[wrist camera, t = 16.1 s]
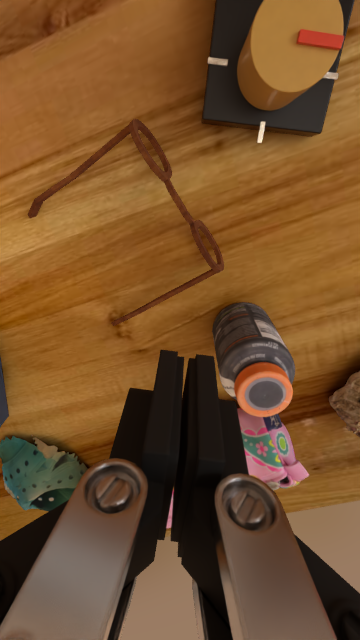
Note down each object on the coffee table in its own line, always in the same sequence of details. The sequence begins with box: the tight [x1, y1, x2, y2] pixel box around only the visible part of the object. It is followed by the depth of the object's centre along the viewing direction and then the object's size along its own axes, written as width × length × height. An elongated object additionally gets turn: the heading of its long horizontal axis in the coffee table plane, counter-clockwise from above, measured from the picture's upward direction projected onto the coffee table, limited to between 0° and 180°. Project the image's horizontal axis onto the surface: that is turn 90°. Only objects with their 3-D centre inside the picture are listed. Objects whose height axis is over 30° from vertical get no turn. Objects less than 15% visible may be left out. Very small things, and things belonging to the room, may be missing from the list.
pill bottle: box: [212, 302, 295, 417], centre depth 28 cm, size 6×6×11 cm
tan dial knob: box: [237, 0, 344, 111], centre depth 20 cm, size 5×5×6 cm
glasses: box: [28, 119, 224, 326], centre depth 27 cm, size 13×13×5 cm
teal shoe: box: [0, 435, 88, 511], centre depth 41 cm, size 9×20×5 cm, turn 34°
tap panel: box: [202, 0, 354, 143], centre depth 23 cm, size 12×9×2 cm
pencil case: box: [166, 407, 309, 529], centre depth 35 cm, size 21×9×9 cm, turn 121°
